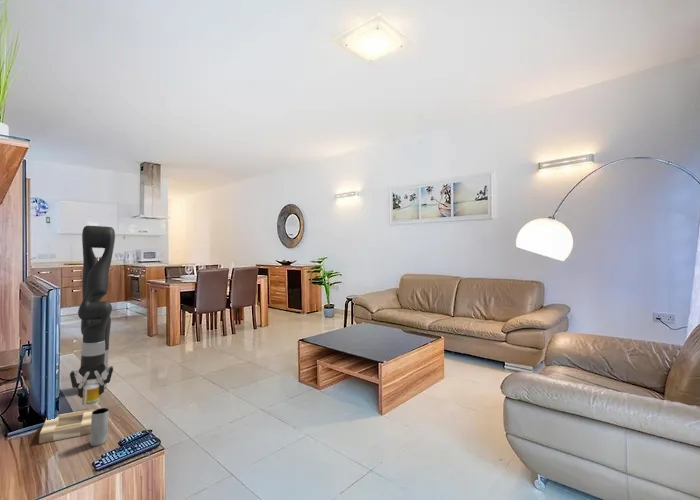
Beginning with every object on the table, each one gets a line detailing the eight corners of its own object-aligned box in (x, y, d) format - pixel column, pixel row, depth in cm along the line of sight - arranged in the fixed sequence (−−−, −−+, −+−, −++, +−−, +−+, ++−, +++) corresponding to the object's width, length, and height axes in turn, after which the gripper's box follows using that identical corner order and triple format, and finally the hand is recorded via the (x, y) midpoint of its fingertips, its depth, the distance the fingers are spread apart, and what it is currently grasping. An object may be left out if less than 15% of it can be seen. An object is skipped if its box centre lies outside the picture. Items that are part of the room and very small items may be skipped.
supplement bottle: (102, 400, 138) (103, 376, 138) (91, 406, 133) (92, 381, 133) (90, 399, 139) (91, 375, 139) (78, 405, 133) (79, 380, 133)
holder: (46, 424, 124) (47, 416, 124) (95, 416, 131) (95, 408, 131) (39, 443, 112) (39, 434, 112) (92, 432, 120) (93, 424, 120)
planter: (108, 437, 117) (110, 407, 117) (104, 444, 113) (106, 413, 113) (92, 439, 115) (94, 408, 116) (88, 447, 111) (89, 414, 111)
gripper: (115, 347, 143) (113, 388, 143) (71, 352, 135) (68, 395, 135) (115, 352, 137) (113, 395, 137) (68, 357, 129) (66, 403, 129)
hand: (91, 395), depth 136 cm, fingers closed on supplement bottle, 5 cm apart
